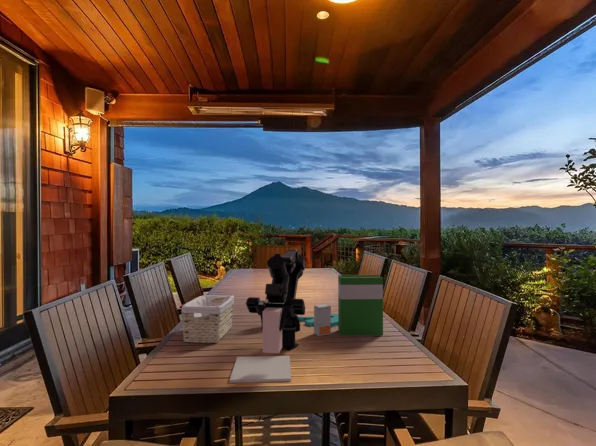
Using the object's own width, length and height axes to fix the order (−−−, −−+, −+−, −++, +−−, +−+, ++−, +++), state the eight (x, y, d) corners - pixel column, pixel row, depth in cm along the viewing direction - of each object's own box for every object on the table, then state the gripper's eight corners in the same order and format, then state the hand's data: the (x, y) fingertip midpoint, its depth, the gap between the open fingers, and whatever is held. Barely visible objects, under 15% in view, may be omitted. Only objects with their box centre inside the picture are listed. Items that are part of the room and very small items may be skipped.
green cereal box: (378, 329, 155) (378, 274, 155) (383, 335, 148) (382, 277, 148) (338, 330, 155) (338, 275, 155) (340, 335, 147) (340, 277, 147)
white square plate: (237, 359, 122) (237, 356, 122) (289, 358, 122) (289, 355, 122) (229, 382, 104) (229, 379, 104) (291, 381, 104) (291, 378, 104)
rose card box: (266, 346, 113) (266, 307, 113) (282, 347, 112) (282, 308, 112) (262, 352, 108) (262, 311, 108) (278, 353, 108) (278, 312, 107)
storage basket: (200, 326, 161) (200, 294, 161) (235, 327, 160) (235, 294, 160) (179, 344, 137) (179, 306, 137) (220, 345, 136) (220, 306, 136)
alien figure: (292, 321, 170) (321, 330, 155) (292, 316, 170) (321, 325, 155) (321, 314, 183) (351, 322, 168) (321, 310, 183) (351, 317, 168)
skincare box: (318, 336, 146) (318, 307, 146) (313, 333, 150) (313, 305, 150) (331, 334, 148) (331, 306, 148) (326, 331, 152) (326, 303, 152)
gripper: (247, 272, 116) (236, 315, 105) (303, 273, 113) (298, 317, 102) (254, 291, 124) (244, 333, 113) (307, 293, 120) (302, 336, 110)
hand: (271, 329), depth 109 cm, fingers closed on rose card box, 5 cm apart
